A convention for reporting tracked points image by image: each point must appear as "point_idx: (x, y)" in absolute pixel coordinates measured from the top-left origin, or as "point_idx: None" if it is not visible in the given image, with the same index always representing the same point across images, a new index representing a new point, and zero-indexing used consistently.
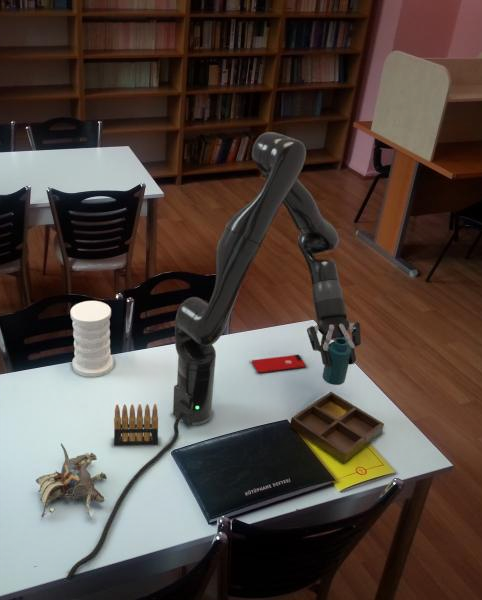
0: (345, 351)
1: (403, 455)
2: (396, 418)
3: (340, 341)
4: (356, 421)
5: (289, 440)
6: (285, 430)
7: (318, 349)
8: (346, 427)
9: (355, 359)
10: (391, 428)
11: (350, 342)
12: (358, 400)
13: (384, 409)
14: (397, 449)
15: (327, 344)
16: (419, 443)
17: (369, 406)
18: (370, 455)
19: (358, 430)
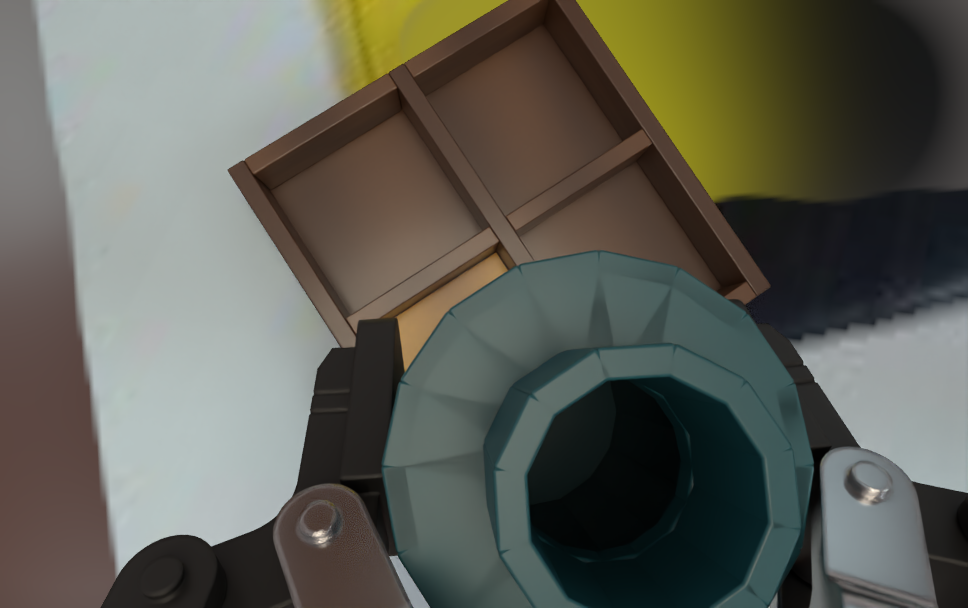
0: (534, 343)
1: (213, 19)
2: (106, 291)
3: (589, 589)
4: (361, 278)
5: (765, 197)
6: (767, 271)
7: (965, 493)
8: (471, 166)
9: (327, 364)
10: (177, 216)
11: (344, 587)
12: (264, 473)
13: (139, 376)
14: (224, 62)
15: (853, 551)
16: (79, 87)
17: (220, 412)
18: (386, 42)
19: (380, 206)
